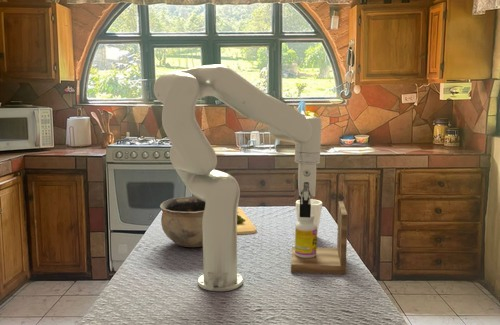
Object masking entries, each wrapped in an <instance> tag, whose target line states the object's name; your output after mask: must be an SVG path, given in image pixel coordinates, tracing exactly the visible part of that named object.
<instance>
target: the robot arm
mask: <svg viewBox="0 0 500 325" xmlns="http://www.w3.org/2000/svg"><path fill="white" fill-rule="evenodd" d="M153 94H154V97H155V98H156V100H157V101H158V102H159V103H161V104H163V106H162V109H161V110H162V111H161V122H162V123H161V124H162V128H163V131H164V133H165V135H166V136H167V138H168V140H169V142H170V144H171V146H170V148H169V149H170V150H169V159H170V163H171V165H172V167H173V169H174V170H175V171H176V173H177V174H178V176H179V178H180V179H181V181H182V182H183V184H184V185H185V186H186V188H187V189H188V190H189V192H190V193H191V195H192V196H195V197H196V198H198V199H200V200H202V201H204V202H205V209H204V213H203V219H202V230H203V246H202V267H203V268H202V269H203V270H202V271H203V272H202V273H203V274H202V275H200V276H198V279H197V284H198V287H199V288H201V289H203V290H205V291H209V292H227V291H232V290H236V289H238V288H239V287H241V286H242V285H243V283H244V282H243V281H244V278H243V276H242V275H241V274H239V273H238V235H237V209H238V208H239V203H240V201H239V200H240V194H241V189H240V186H239V183H238V181H237V179H236V178H235V177H234V176H233V175H231V174H229V173H228V172H224V171H221V170H218V169H216V167H217V164H218V157H217V153H216V151H215V149H214V148H213V146H212V145H211V143H210V142H209V139H208V138H207V137H206V135H205V133H204V131H203V130H202V128H201V127H200V125H199V123H198V121H197V118H196V113H195V112H196V106H197V102H198V99H200V98H205V97H213V98H216V99H217V100H219V101H220V102H222V104H223V103H224V104H225V105H227V106H228V107H229V108H230V109H233V111H235V112H237V113H238V114H239V115H241V116H243V117H244V118H247V119H249V120H250V121H254V122H259V123H262V124H265V125H267V126H268V131H269V134H270V135H271V137H273V138H274V139H275V140H278V141H281V142H287V143H288V142H289V143H293V144H295V145H294V147H295V148H294V163H296V164H298V170H297V171H298V173H297V185H298V195H299V196H300V197H299V200H300V215H299V216H300V217H306V218H310V213H311V204H310V199H311V196H312V198H315V196H316V188H317V187H316V186H317V185H316V184H317V164H320V163H321V146H322V143H321V142H322V126H323V125H322V123H323V122H322V119H321V117H318V116H312V115H311V116H309V115H308V116H307V115H303V114H302V113H301V112H299V111H298V110H297V109H296V108H294V107H293V106H291V105H289V104H287V103H286V102H284V101H281V100H280V99H278V98H276V97H274V96H272V95H271V94H268V93H266V92H264V91H262V90H261V89H259V88H258V87H256V86H255V85H253V84H252V83H251V82H250V81H248V79H246V78H244V77H243V76H242V75H240V74H238V72H236V71H234V70H233V69H232V68H230V67H229V66H227V65H224V64H205V65H201V66H197V67H196V66H195V67H192V68H188V69H182V70H177V71H171V72H167V73H163V74H161V75H160V76H159V77H157V79H156V80H155V81H154V84H153Z"/></svg>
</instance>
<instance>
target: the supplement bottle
mask: <svg viewBox="0 0 500 325" xmlns="http://www.w3.org/2000/svg"><path fill="white" fill-rule="evenodd" d="M299 215H300V214H299ZM313 220H314V215H313V214H310V218H306V217H300V216H299V222H298V221H297V222H296V224H295V227H294V231H295V235H294V237H295V238H294V239H295V240H294V247H295V255H296V256H298V257H301V258H312V257H315V256H316V250H317V246H318V245H317V243H318V242H317V240H318V235H317V225H316V224H315V223H314V222H313Z"/></svg>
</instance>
